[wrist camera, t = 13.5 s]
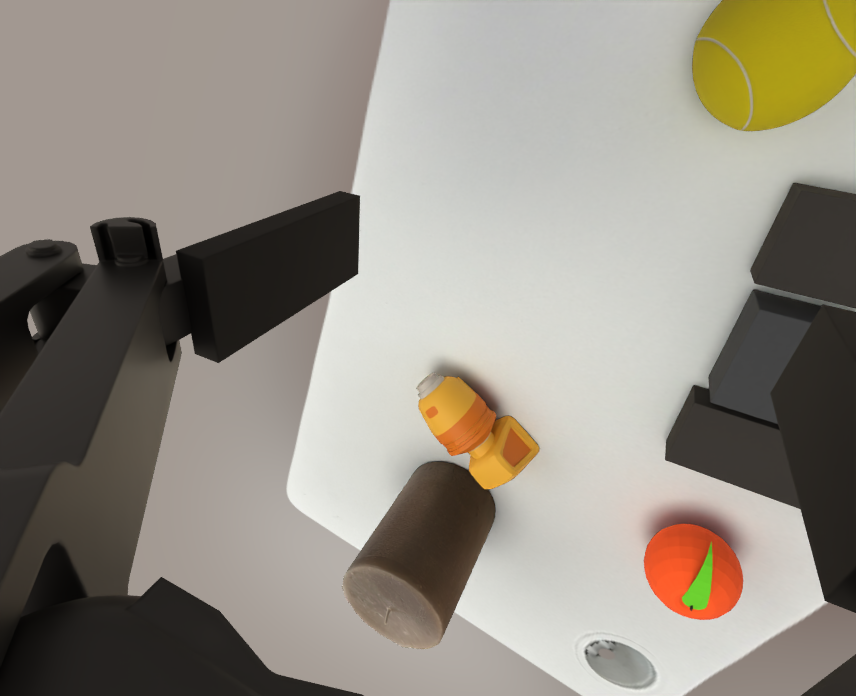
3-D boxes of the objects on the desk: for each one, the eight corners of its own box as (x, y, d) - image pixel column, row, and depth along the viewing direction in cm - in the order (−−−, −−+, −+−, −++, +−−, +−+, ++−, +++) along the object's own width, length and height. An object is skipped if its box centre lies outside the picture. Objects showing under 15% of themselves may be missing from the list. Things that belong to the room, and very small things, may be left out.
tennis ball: (724, 150, 29) (734, 166, 24) (669, 40, 28) (666, 30, 22) (872, 67, 25) (926, 64, 19) (815, -64, 24) (855, -109, 18)
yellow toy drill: (419, 378, 47) (502, 471, 47) (391, 409, 42) (482, 511, 43) (456, 350, 44) (544, 450, 44) (430, 379, 39) (528, 490, 40)
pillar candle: (482, 461, 48) (414, 588, 36) (506, 537, 51) (451, 677, 39) (399, 459, 53) (315, 570, 41) (426, 529, 56) (355, 651, 44)
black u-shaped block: (793, 182, 28) (801, 190, 26) (1113, 241, 24) (1151, 256, 22) (665, 440, 39) (664, 460, 37) (873, 513, 35) (885, 540, 33)
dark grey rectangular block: (752, 289, 32) (759, 309, 29) (852, 313, 30) (868, 337, 27) (708, 377, 35) (709, 402, 33) (794, 403, 34) (803, 433, 31)
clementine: (662, 484, 41) (658, 550, 35) (757, 515, 38) (770, 590, 33) (637, 549, 45) (630, 617, 39) (722, 580, 42) (728, 657, 37)
